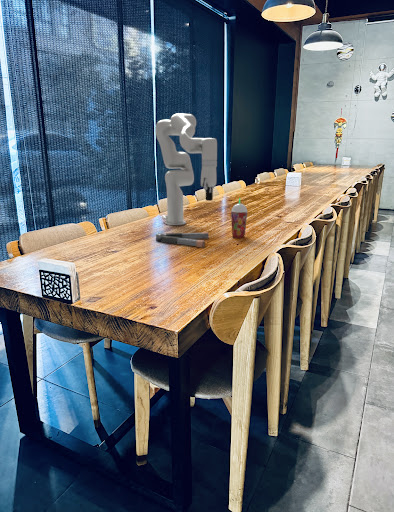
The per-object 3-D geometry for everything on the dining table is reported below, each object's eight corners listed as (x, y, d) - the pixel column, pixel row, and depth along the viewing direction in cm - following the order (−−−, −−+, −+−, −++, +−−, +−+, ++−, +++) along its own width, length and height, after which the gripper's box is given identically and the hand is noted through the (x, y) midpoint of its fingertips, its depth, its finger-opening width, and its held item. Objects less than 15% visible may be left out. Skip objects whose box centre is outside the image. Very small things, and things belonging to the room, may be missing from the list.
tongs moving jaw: (156, 241, 184) (156, 235, 183) (155, 239, 189) (155, 233, 188) (209, 239, 188) (209, 233, 187) (207, 237, 193) (207, 231, 192)
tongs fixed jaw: (161, 242, 182) (161, 236, 181) (165, 241, 185) (165, 235, 184) (202, 247, 173) (202, 241, 172) (204, 246, 176) (204, 240, 175)
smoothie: (248, 235, 196) (250, 197, 191) (243, 239, 189) (245, 199, 184) (233, 234, 200) (234, 196, 194) (228, 237, 193) (229, 198, 187)
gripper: (208, 163, 197) (208, 198, 202) (196, 164, 184) (196, 201, 189) (221, 163, 194) (221, 199, 199) (210, 164, 181) (209, 202, 186)
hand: (209, 200), depth 194 cm, fingers closed
